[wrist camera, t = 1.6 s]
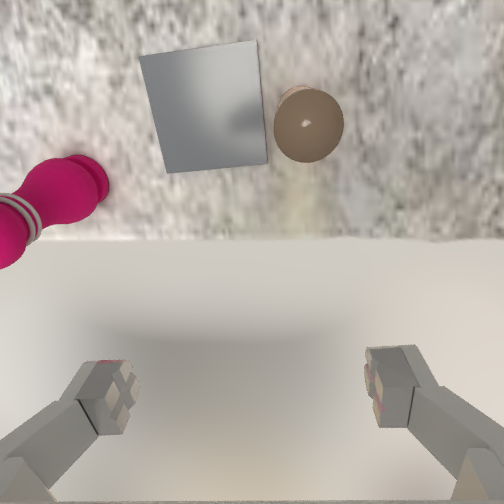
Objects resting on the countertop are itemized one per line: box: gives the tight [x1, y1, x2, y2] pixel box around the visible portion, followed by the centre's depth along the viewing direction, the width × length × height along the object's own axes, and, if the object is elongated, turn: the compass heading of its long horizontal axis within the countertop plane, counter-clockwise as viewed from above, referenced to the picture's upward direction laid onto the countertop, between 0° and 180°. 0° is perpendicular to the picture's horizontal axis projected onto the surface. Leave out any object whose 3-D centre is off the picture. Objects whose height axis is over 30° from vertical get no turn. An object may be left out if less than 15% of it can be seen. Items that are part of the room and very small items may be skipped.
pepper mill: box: [0, 155, 109, 269], centre depth 32 cm, size 7×7×20 cm
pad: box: [139, 40, 267, 174], centre depth 35 cm, size 12×12×1 cm
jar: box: [274, 86, 344, 163], centre depth 30 cm, size 5×5×11 cm
